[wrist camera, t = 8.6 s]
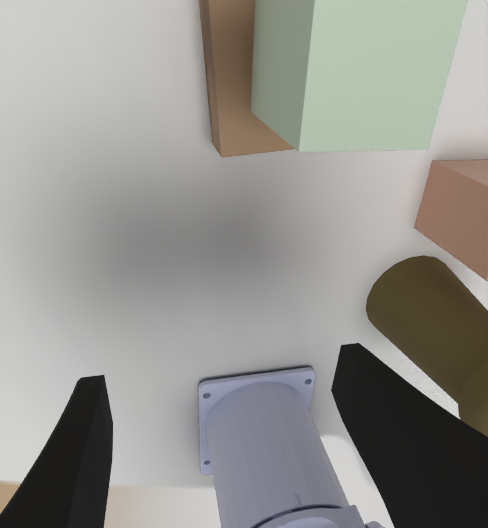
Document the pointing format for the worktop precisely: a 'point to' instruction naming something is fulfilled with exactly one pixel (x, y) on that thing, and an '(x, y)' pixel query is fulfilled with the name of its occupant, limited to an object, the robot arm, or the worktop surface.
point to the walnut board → (233, 79)
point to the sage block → (352, 71)
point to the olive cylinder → (437, 330)
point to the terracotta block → (458, 211)
